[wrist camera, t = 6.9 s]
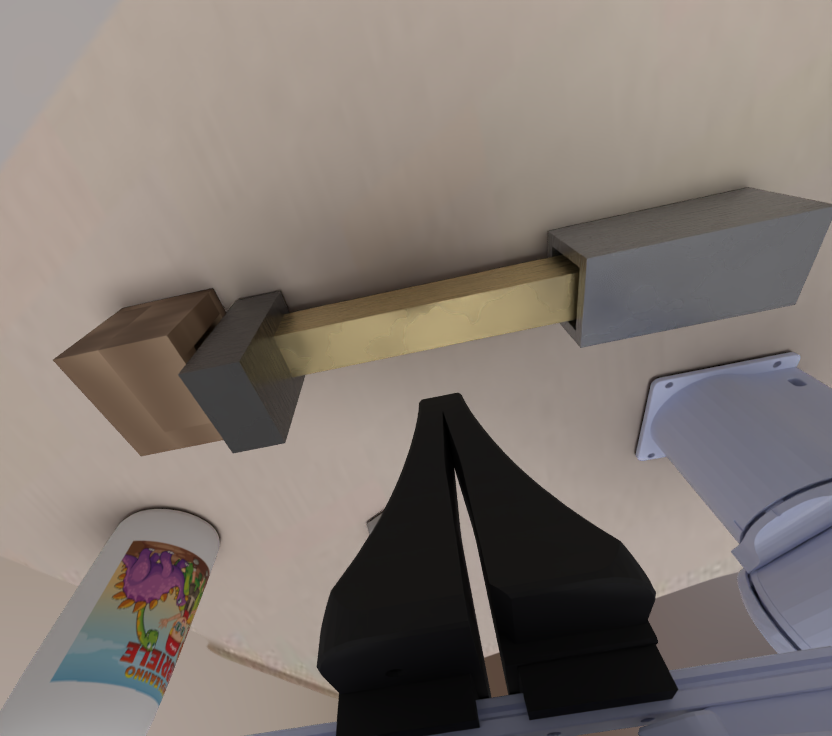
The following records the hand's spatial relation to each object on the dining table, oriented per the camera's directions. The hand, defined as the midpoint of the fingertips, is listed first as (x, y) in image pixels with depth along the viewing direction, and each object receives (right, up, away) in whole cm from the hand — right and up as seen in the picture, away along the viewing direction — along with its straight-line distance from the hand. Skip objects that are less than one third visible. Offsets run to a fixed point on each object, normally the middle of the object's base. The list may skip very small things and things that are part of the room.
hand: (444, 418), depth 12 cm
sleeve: (+11, +8, +7) cm, 15 cm away
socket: (-13, +3, +9) cm, 16 cm away
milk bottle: (-21, -12, +18) cm, 30 cm away
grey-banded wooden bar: (-3, +5, +8) cm, 10 cm away
